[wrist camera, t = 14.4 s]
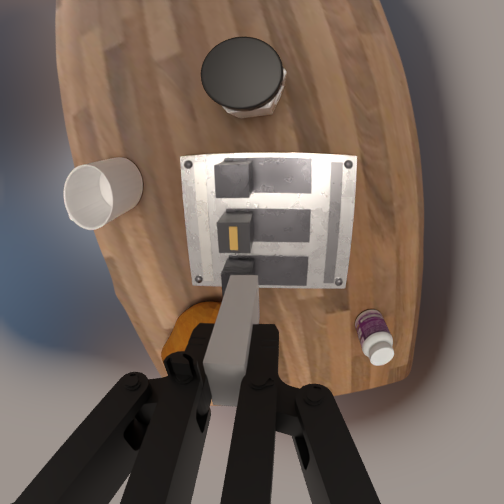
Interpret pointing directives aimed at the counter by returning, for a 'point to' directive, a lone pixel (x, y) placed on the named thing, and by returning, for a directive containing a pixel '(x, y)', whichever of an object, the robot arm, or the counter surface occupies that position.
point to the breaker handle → (235, 232)
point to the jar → (244, 77)
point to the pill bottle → (374, 337)
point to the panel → (272, 216)
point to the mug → (102, 191)
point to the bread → (189, 326)
